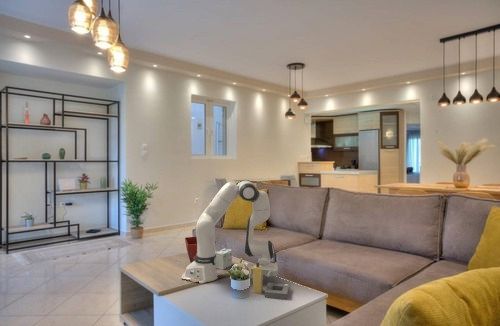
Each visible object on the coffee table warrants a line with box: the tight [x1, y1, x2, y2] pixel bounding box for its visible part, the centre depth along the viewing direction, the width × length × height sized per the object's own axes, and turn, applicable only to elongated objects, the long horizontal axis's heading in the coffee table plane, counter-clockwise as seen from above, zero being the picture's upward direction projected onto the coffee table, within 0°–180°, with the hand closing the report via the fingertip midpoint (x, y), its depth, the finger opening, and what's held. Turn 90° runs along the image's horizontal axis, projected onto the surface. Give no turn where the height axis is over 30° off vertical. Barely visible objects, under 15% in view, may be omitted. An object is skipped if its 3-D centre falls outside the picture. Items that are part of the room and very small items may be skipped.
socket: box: [264, 282, 290, 301], centre depth 175 cm, size 12×12×4 cm
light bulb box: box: [215, 247, 233, 270], centre depth 215 cm, size 11×7×11 cm, turn 149°
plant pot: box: [184, 236, 217, 264], centre depth 221 cm, size 19×19×17 cm
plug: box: [252, 261, 263, 294], centre depth 177 cm, size 4×4×16 cm
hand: (258, 275), depth 180 cm, fingers open, 8 cm apart
